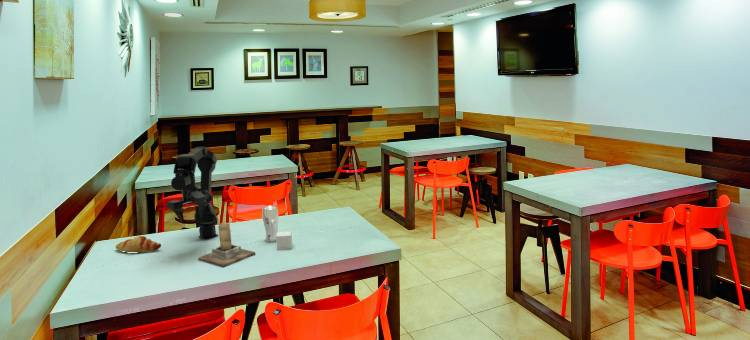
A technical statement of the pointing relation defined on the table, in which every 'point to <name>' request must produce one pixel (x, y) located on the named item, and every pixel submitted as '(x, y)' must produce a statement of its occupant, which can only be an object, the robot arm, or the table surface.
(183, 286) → the table surface
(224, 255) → the cup bracket
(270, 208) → the beer glass
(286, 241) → the light grey cube
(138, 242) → the croissant
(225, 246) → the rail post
